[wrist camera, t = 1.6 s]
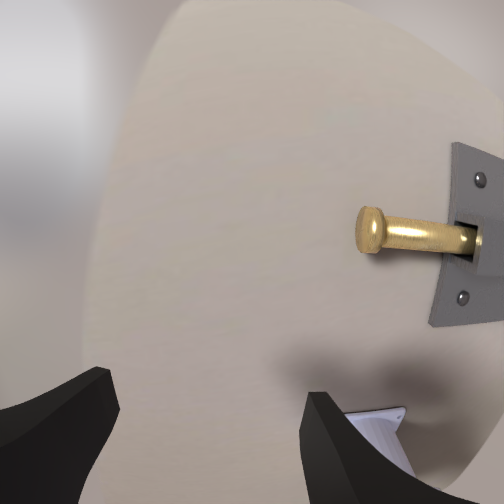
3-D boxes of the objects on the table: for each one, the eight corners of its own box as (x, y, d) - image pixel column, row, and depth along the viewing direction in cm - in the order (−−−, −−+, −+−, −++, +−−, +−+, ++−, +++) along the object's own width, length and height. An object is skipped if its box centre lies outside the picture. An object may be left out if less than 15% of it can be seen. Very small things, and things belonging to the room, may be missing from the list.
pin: (497, 259, 17) (517, 267, 14) (353, 247, 17) (368, 257, 14) (501, 227, 16) (523, 233, 13) (357, 204, 16) (374, 207, 14)
